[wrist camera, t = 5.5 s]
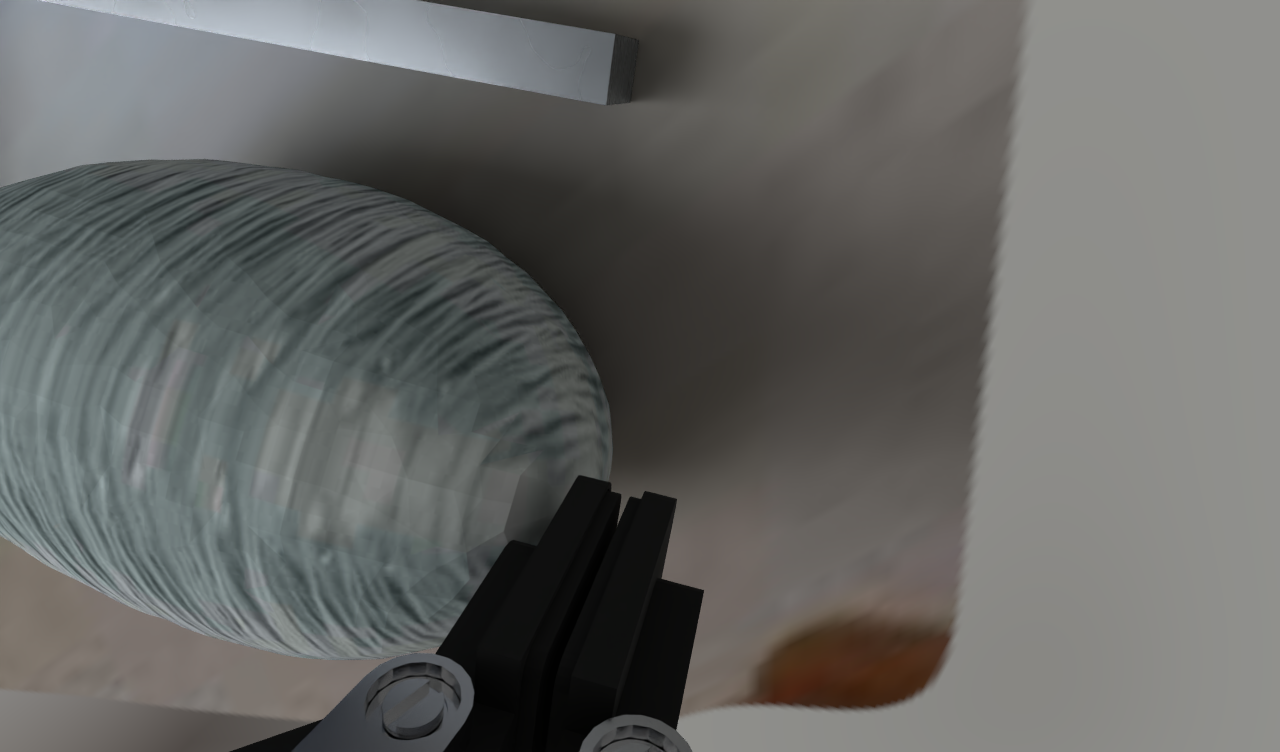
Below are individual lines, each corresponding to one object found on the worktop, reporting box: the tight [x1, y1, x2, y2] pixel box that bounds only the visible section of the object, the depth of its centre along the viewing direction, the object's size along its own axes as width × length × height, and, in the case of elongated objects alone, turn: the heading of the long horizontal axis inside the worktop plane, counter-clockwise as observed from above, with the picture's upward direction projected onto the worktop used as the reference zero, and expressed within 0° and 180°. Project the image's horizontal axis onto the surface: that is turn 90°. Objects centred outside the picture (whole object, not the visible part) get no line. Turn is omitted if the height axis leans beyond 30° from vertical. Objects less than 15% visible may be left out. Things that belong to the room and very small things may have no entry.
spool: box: [0, 159, 613, 660], centre depth 15 cm, size 14×10×10 cm
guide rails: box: [39, 0, 639, 105], centre depth 18 cm, size 15×22×2 cm
